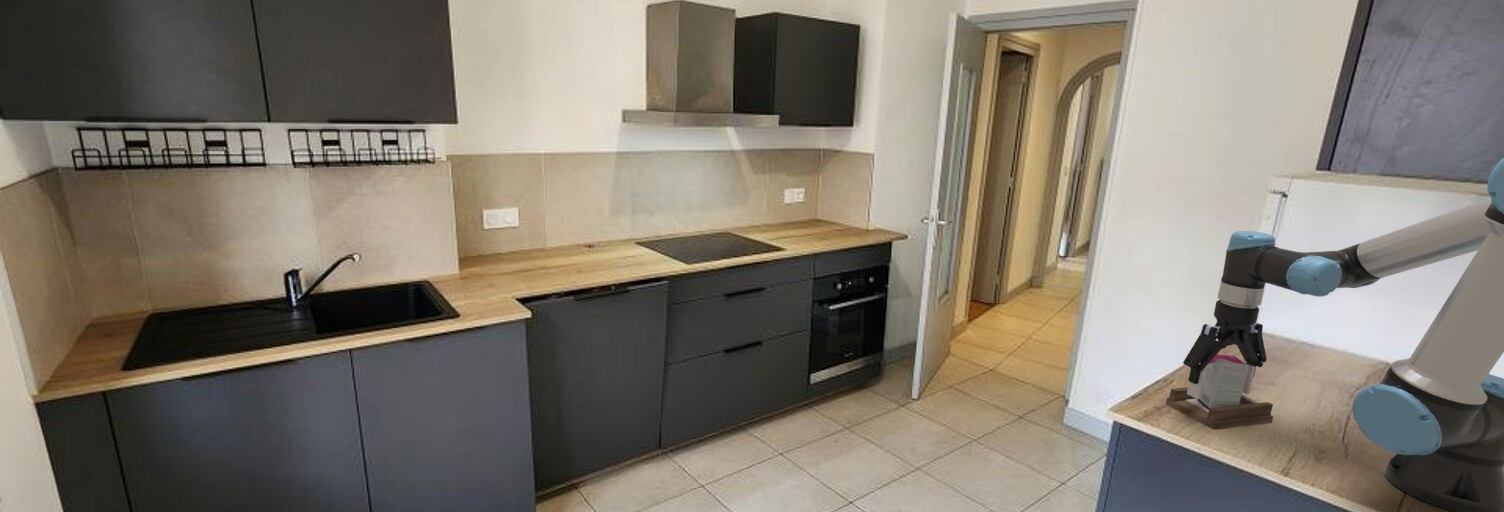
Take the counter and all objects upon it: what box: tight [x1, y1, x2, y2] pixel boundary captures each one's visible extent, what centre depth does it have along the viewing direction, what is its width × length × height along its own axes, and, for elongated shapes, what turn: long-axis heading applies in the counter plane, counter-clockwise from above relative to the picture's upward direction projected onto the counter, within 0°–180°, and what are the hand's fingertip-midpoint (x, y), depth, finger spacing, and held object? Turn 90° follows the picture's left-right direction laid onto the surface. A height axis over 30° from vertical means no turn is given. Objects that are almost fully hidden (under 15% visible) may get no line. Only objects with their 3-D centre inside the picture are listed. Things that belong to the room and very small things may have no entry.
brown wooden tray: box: [1165, 386, 1274, 430], centre depth 144 cm, size 12×16×4 cm
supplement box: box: [1197, 353, 1248, 410], centre depth 142 cm, size 6×6×12 cm
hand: (1218, 393), depth 143 cm, fingers open, 13 cm apart
